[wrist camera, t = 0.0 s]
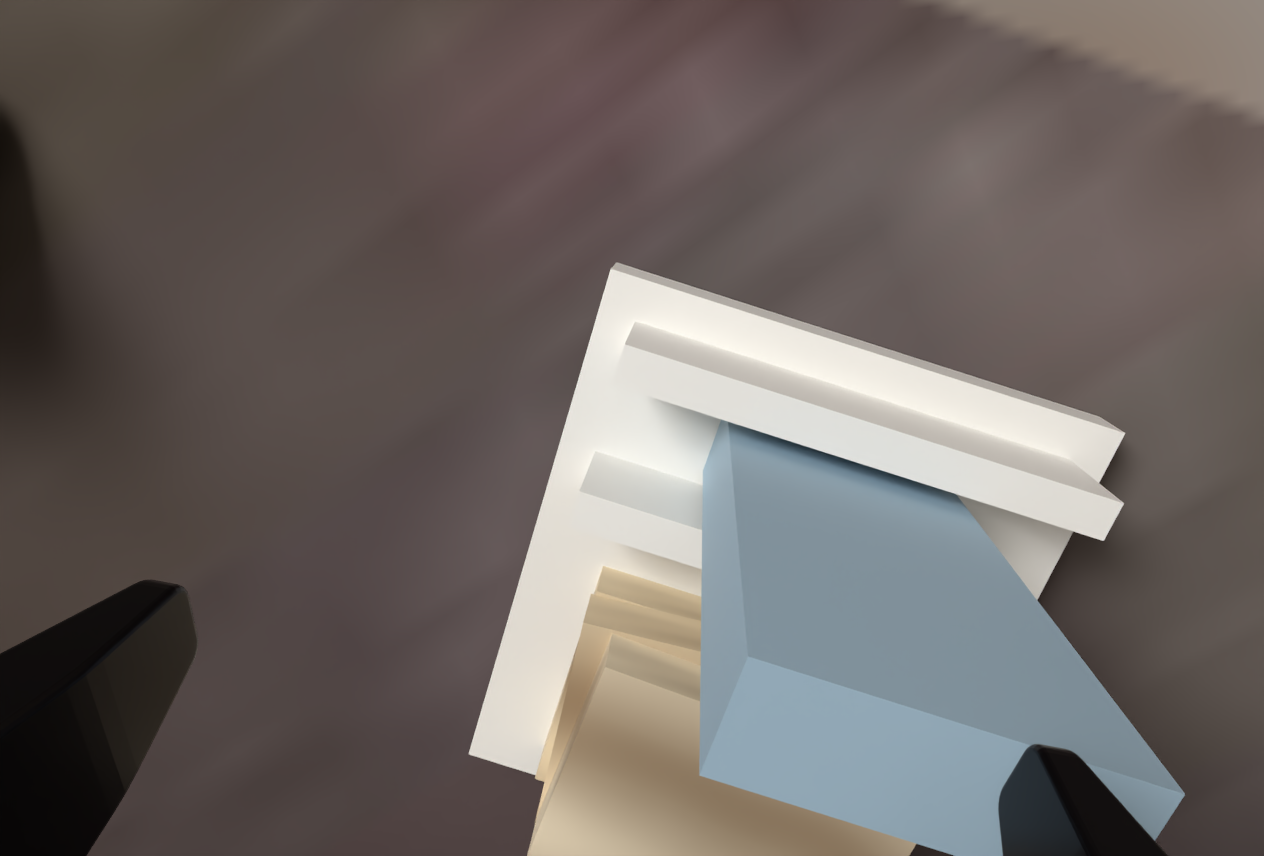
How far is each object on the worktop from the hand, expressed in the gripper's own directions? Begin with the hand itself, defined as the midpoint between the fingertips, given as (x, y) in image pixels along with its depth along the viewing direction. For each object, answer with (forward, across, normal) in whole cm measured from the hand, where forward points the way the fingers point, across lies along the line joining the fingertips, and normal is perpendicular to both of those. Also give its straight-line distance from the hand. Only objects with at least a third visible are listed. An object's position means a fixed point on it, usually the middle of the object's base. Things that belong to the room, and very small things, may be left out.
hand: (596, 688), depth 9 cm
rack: (+13, -4, +10) cm, 17 cm away
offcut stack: (+11, -4, +13) cm, 17 cm away
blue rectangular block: (+13, -5, +5) cm, 15 cm away
